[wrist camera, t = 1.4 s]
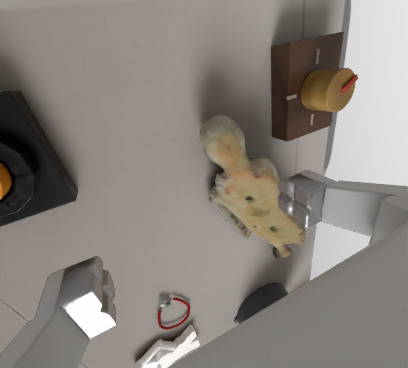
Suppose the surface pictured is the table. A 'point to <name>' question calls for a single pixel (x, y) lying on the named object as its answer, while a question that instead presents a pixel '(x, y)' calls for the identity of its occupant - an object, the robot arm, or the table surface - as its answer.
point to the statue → (247, 188)
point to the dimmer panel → (300, 83)
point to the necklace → (169, 305)
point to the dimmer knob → (328, 89)
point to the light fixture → (260, 300)
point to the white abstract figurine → (169, 350)
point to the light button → (4, 180)
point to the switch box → (29, 164)
